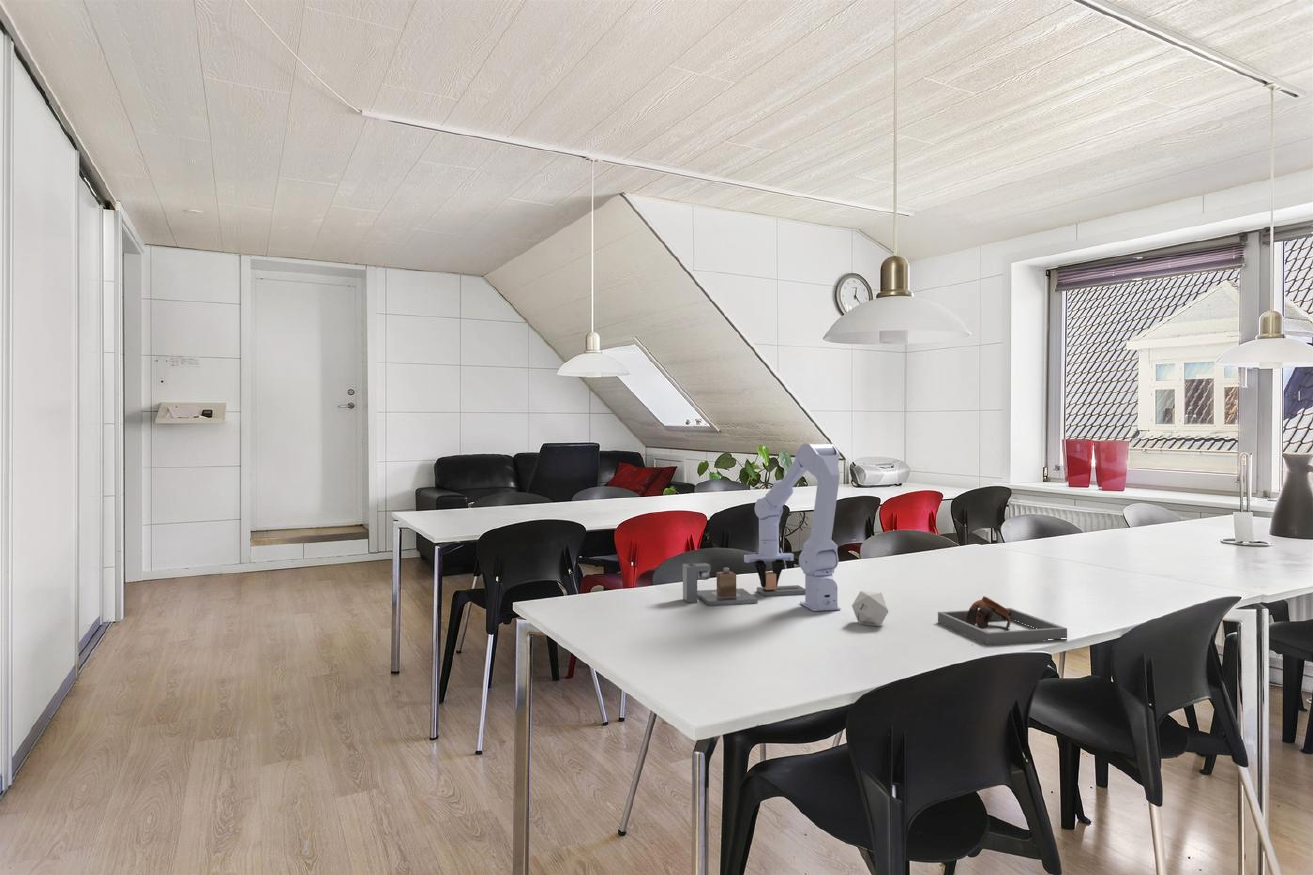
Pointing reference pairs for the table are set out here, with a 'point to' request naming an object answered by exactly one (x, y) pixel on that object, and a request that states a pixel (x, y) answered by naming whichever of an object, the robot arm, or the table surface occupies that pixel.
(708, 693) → the table surface
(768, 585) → the peach small block
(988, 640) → the tray
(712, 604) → the press
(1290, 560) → the table surface
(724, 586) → the block
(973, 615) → the brown arched piece
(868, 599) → the die
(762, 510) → the robot arm
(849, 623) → the table surface
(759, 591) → the base
